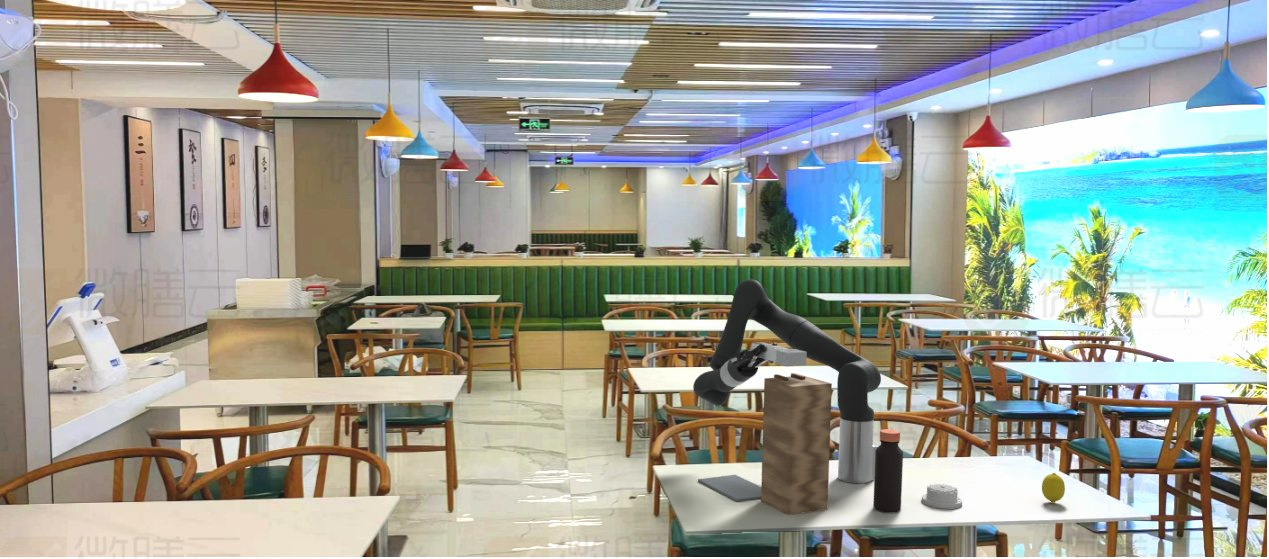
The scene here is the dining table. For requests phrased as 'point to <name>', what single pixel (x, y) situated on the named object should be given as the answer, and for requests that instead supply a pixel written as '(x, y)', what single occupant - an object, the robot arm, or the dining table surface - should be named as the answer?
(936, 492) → the grey cake on plate
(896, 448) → the bottle
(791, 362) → the grey block
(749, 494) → the mat
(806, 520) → the dining table surface
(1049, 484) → the lemon
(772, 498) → the tall wooden block
